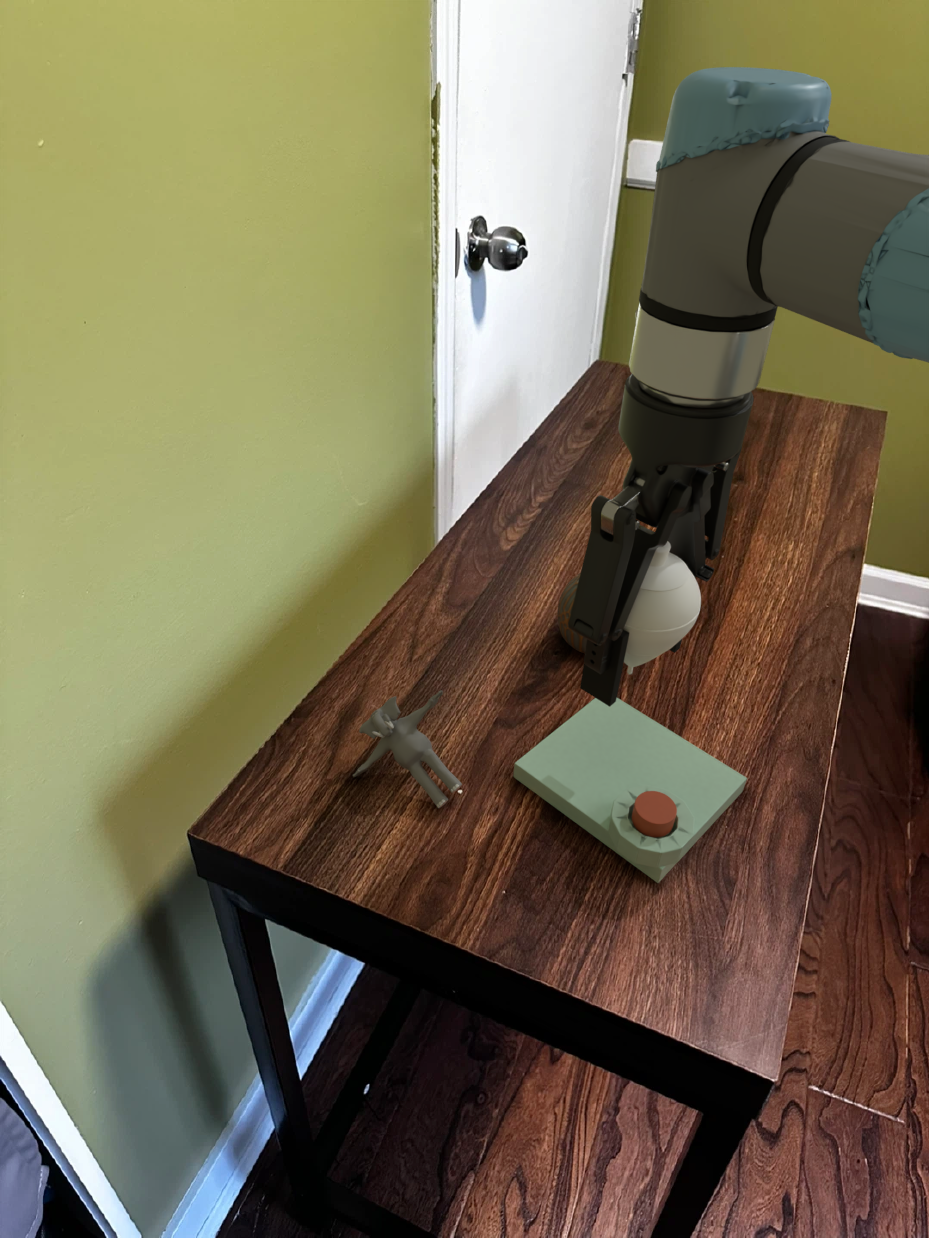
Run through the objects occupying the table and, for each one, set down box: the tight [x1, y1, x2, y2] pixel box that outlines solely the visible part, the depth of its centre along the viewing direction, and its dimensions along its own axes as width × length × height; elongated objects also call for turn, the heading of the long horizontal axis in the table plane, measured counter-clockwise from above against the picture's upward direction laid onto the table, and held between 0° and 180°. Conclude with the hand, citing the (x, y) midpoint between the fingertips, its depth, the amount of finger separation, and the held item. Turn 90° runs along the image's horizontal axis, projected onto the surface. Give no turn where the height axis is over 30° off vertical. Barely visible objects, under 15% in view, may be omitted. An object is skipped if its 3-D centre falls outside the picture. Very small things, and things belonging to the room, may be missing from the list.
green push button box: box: [512, 697, 748, 884], centre depth 67 cm, size 14×13×4 cm
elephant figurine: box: [352, 689, 463, 809], centre depth 67 cm, size 10×6×9 cm
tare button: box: [632, 791, 677, 837], centre depth 62 cm, size 3×3×2 cm
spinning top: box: [623, 541, 702, 675], centre depth 61 cm, size 8×8×12 cm
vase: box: [556, 573, 587, 654], centre depth 80 cm, size 7×7×9 cm
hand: (631, 667), depth 65 cm, fingers closed on spinning top, 8 cm apart
